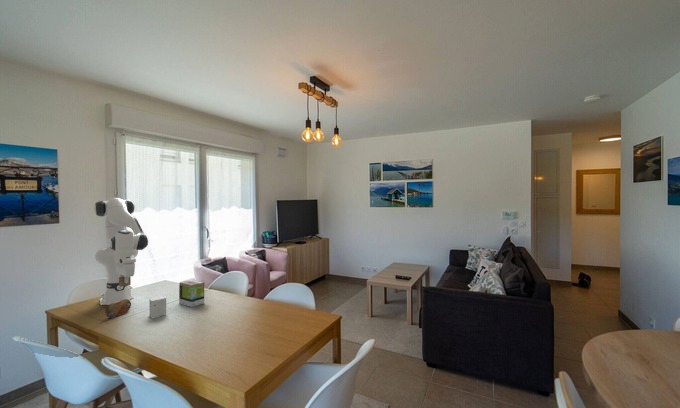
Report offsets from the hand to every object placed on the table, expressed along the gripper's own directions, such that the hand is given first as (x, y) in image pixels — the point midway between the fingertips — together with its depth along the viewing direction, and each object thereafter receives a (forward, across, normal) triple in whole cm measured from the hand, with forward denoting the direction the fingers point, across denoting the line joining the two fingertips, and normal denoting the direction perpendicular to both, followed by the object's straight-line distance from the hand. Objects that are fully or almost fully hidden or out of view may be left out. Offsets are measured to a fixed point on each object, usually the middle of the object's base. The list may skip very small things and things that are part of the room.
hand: (124, 282), depth 166 cm
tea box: (+23, -2, +39) cm, 46 cm away
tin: (+23, -16, +1) cm, 28 cm away
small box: (+23, +4, +16) cm, 29 cm away
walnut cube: (+2, 0, 0) cm, 2 cm away
